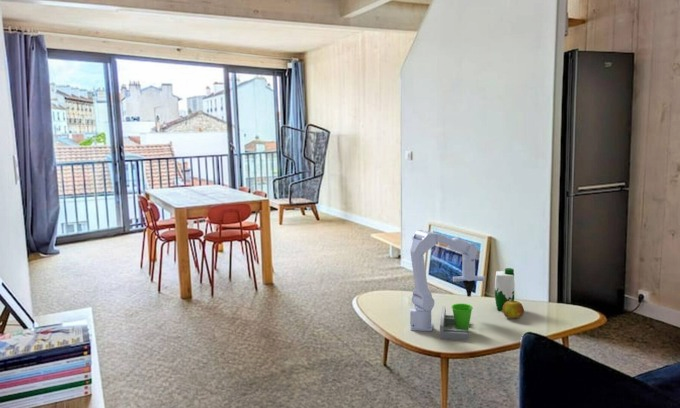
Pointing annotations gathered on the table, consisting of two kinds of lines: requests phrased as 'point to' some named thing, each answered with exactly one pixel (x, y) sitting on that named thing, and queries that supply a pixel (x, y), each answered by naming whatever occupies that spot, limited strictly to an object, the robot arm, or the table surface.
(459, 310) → the cup
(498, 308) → the milk carton
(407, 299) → the table surface
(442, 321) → the rack
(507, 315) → the fruit
